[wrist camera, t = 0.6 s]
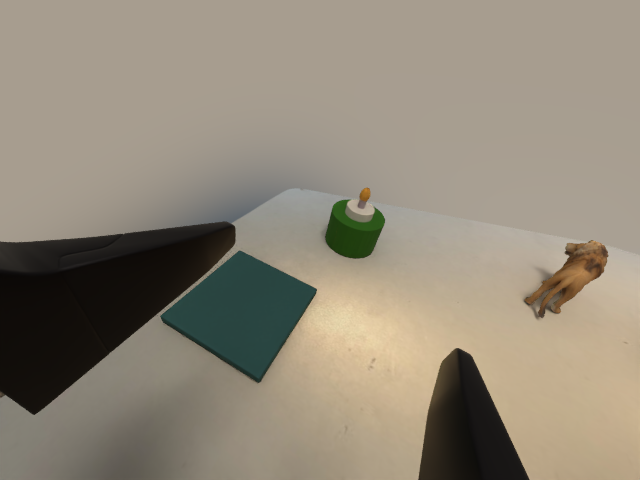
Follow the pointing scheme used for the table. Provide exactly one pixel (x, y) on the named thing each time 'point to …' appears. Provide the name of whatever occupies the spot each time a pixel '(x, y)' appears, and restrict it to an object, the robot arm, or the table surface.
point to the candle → (354, 227)
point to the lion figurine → (573, 274)
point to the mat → (242, 313)
